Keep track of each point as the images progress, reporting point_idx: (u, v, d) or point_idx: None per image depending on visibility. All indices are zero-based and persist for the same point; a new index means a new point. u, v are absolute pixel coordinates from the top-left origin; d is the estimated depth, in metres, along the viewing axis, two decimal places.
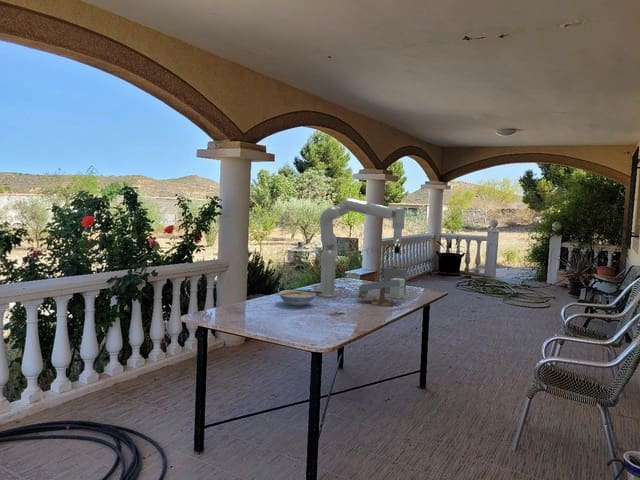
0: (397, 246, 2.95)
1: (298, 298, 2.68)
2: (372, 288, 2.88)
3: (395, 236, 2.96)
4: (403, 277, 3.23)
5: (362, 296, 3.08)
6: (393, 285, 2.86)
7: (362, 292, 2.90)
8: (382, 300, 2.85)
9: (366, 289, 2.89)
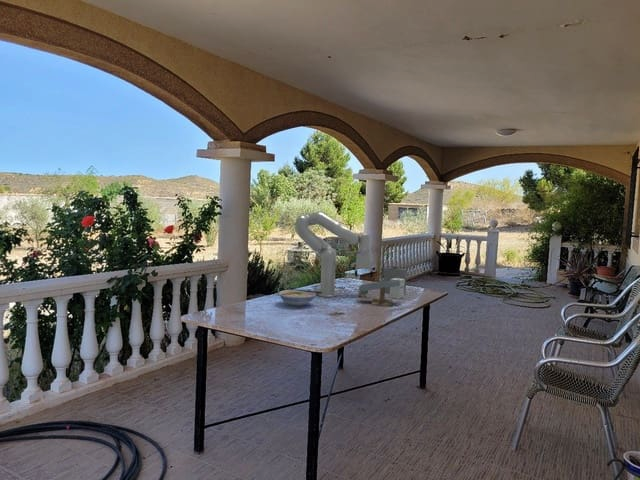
0: None
1: (298, 298, 2.68)
2: (372, 288, 2.88)
3: None
4: (403, 277, 3.23)
5: (362, 296, 3.08)
6: (393, 285, 2.86)
7: (362, 292, 2.90)
8: (382, 300, 2.85)
9: (366, 289, 2.89)
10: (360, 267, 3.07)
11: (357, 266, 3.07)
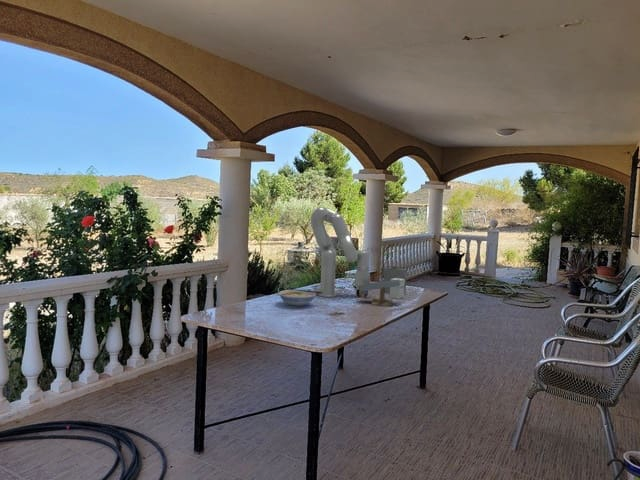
0: None
1: (298, 298, 2.68)
2: (372, 288, 2.88)
3: (369, 279, 3.08)
4: (403, 277, 3.23)
5: (362, 296, 3.08)
6: (393, 285, 2.86)
7: (362, 292, 2.90)
8: (382, 300, 2.85)
9: (366, 289, 2.89)
10: (359, 285, 3.08)
11: (356, 284, 3.08)
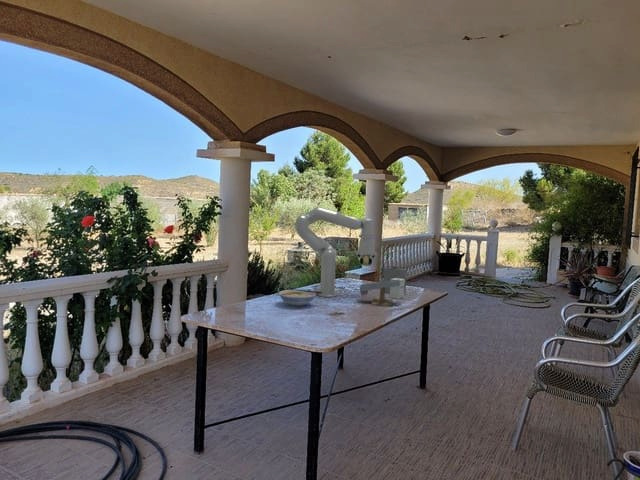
0: None
1: (298, 298, 2.68)
2: (372, 288, 2.88)
3: None
4: (403, 277, 3.23)
5: (366, 264, 3.05)
6: (393, 285, 2.86)
7: (362, 292, 2.90)
8: (382, 300, 2.85)
9: (366, 289, 2.89)
10: (363, 253, 3.04)
11: (360, 252, 3.05)
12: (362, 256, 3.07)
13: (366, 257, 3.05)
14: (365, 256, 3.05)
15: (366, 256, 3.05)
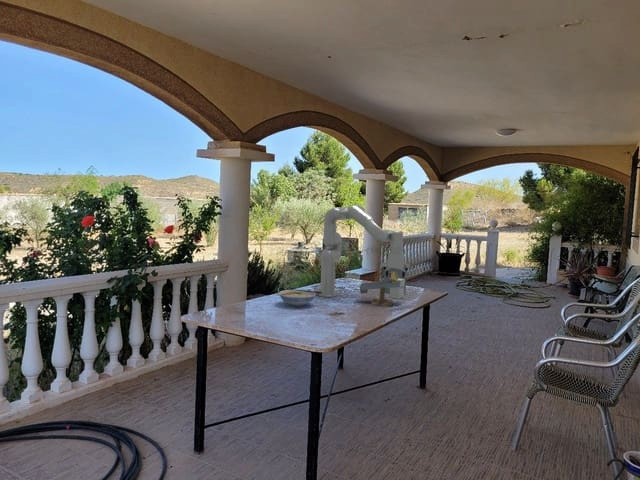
0: (405, 270, 2.89)
1: (298, 298, 2.68)
2: (372, 287, 2.88)
3: (403, 261, 2.87)
4: (403, 277, 3.23)
5: (395, 282, 2.88)
6: (393, 286, 2.86)
7: (362, 291, 2.90)
8: (382, 300, 2.85)
9: (366, 288, 2.89)
10: (392, 267, 2.87)
11: (389, 266, 2.88)
12: None
13: (394, 275, 2.88)
14: (392, 274, 2.88)
15: (393, 274, 2.88)
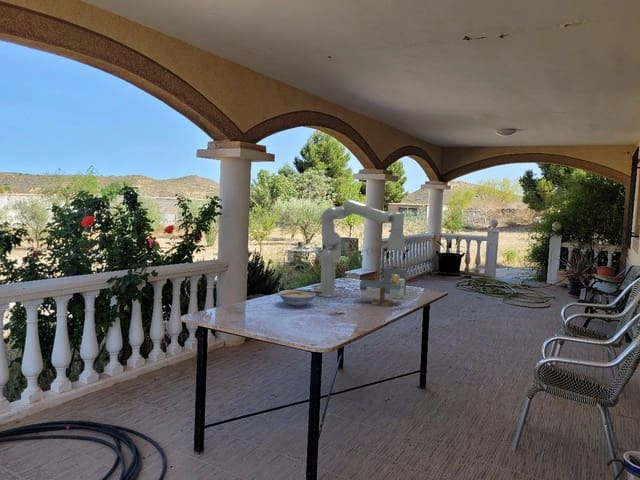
0: (406, 252, 2.88)
1: (298, 298, 2.68)
2: (372, 286, 2.88)
3: (404, 242, 2.86)
4: (403, 277, 3.23)
5: None
6: (394, 288, 2.86)
7: (362, 287, 2.90)
8: (382, 300, 2.85)
9: (366, 285, 2.88)
10: (392, 248, 2.86)
11: (389, 247, 2.87)
12: None
13: (396, 277, 2.88)
14: (395, 276, 2.88)
15: (396, 276, 2.88)
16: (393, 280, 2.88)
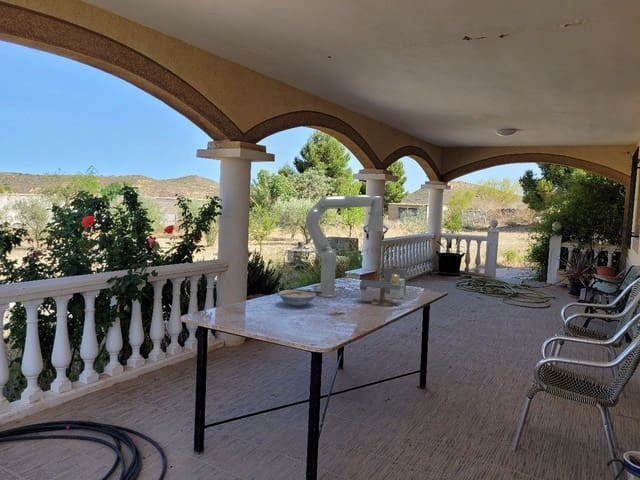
0: (384, 233, 3.10)
1: (298, 298, 2.68)
2: (372, 286, 2.88)
3: None
4: (403, 277, 3.23)
5: None
6: (394, 288, 2.86)
7: (362, 287, 2.90)
8: (382, 300, 2.85)
9: (366, 285, 2.88)
10: (372, 230, 3.09)
11: (369, 229, 3.09)
12: None
13: (396, 277, 2.88)
14: (395, 276, 2.88)
15: (396, 276, 2.88)
16: (393, 280, 2.88)
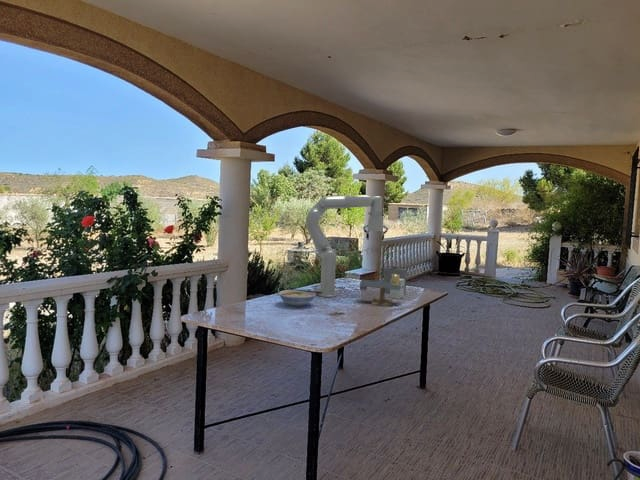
0: (384, 233, 3.10)
1: (298, 298, 2.68)
2: (372, 286, 2.88)
3: None
4: (403, 277, 3.23)
5: None
6: (394, 288, 2.86)
7: (362, 287, 2.90)
8: (382, 300, 2.85)
9: (366, 285, 2.88)
10: (372, 230, 3.09)
11: (369, 229, 3.09)
12: None
13: (396, 277, 2.88)
14: (395, 276, 2.88)
15: (396, 276, 2.88)
16: (393, 280, 2.88)
